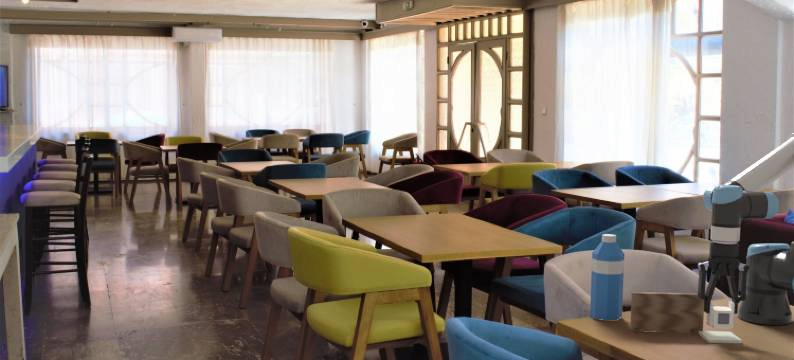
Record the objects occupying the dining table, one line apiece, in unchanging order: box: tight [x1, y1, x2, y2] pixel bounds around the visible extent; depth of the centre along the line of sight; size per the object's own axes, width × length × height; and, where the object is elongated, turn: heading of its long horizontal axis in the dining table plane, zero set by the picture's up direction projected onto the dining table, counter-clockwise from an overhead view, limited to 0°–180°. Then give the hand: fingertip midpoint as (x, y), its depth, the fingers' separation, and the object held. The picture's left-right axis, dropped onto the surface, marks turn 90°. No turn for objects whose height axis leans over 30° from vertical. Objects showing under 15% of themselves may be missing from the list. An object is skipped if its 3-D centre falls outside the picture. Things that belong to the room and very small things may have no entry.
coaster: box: [698, 330, 743, 344], centre depth 242 cm, size 9×9×1 cm
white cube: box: [710, 305, 734, 330], centre depth 241 cm, size 5×5×5 cm
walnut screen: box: [629, 291, 705, 335], centre depth 248 cm, size 20×4×11 cm, turn 88°
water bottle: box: [589, 233, 625, 321], centre depth 263 cm, size 9×9×25 cm
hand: (719, 324), depth 242 cm, fingers closed on white cube, 5 cm apart
